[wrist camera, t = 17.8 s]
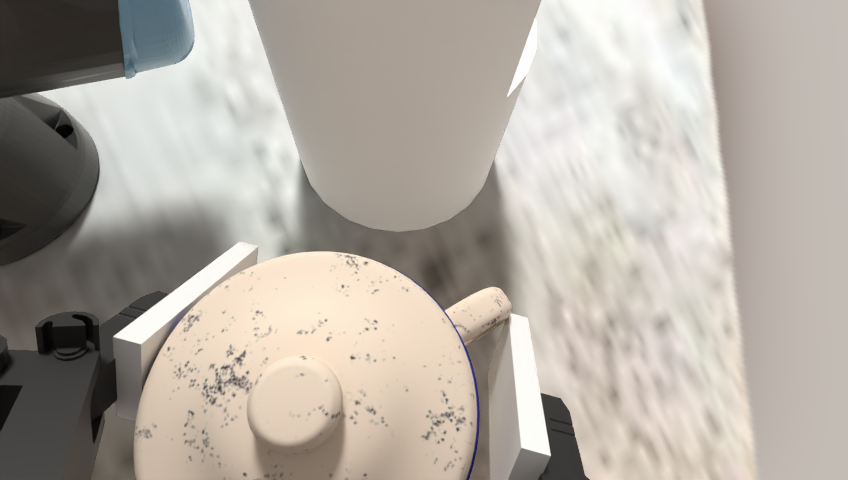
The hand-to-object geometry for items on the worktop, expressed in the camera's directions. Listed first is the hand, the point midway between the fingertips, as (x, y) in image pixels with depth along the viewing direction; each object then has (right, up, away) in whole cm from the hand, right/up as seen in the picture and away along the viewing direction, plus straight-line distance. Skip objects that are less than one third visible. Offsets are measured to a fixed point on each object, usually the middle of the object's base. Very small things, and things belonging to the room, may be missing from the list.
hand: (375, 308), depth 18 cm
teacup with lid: (-1, -4, +3) cm, 5 cm away
